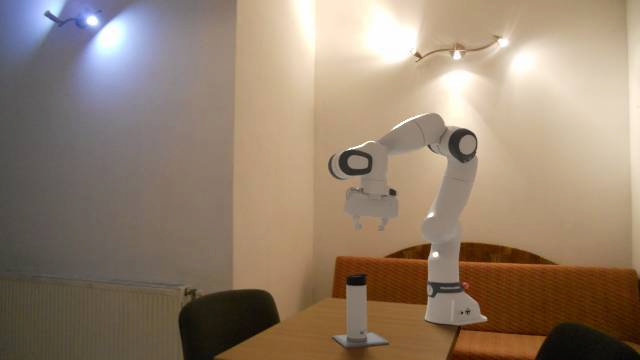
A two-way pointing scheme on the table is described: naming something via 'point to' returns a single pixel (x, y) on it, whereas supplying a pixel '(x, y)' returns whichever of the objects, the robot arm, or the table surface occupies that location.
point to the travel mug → (356, 308)
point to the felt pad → (371, 340)
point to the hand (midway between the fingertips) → (369, 230)
